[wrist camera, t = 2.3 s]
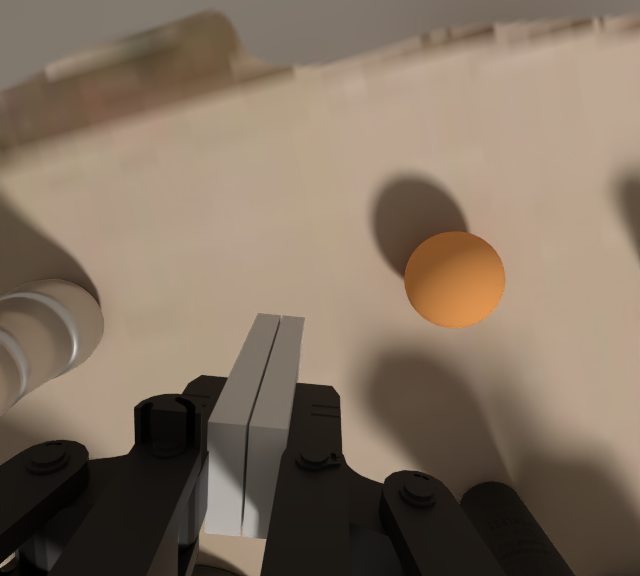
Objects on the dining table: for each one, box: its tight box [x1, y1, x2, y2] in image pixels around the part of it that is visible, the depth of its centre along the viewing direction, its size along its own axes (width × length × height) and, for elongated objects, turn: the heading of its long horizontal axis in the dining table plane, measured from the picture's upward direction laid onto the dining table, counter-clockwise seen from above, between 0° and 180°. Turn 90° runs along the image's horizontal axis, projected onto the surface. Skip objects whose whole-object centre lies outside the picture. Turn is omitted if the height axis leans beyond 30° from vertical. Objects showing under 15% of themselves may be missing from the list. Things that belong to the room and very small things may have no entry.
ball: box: [404, 231, 505, 328], centre depth 28 cm, size 6×6×6 cm
